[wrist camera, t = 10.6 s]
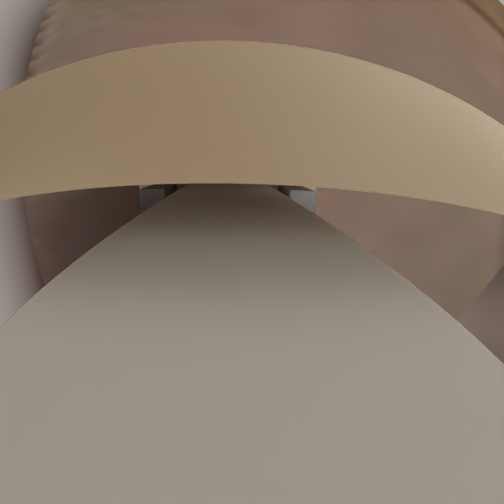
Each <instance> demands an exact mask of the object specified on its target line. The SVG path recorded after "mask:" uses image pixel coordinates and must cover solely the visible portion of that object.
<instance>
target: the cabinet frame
mask: <svg viewBox="0 0 504 504" xmlns="http://www.w3.org/2000/svg"><path fill="white" fill-rule="evenodd" d="M189 183H232V184H268V185H270V186H271V187H273V188H274V189H276V190H278V191H279V192H281V193H283V194H284V195H286V196H287V197H289V198H291V199H292V200H294V201H295V202H297V203H298V204H300V205H302V206H303V207H305V208H306V209H308V210H309V211H311V212H312V213H314V212H315V200H316V187H321V188H333V189H344V190H355V191H364V192H373V193H382V194H390V195H398V196H405V197H412V198H419V199H425V200H431V201H437V202H443V203H449V204H454V205H460V206H465V207H470V208H475V209H480V210H484V211H489V212H493V213H498V214H502V215H504V126H503V125H502V124H500V123H499V122H497V121H496V120H494V119H493V118H491V117H489V116H488V115H486V114H485V113H483V112H481V111H480V110H478V109H476V108H475V107H473V106H471V105H469V104H468V103H466V102H464V101H462V100H460V99H459V98H457V97H455V96H453V95H451V94H449V93H447V92H445V91H443V90H441V89H439V88H436V87H434V86H432V85H430V84H428V83H425V82H423V81H421V80H418V79H416V78H413V77H411V76H408V75H406V74H403V73H400V72H398V71H395V70H392V69H389V68H386V67H383V66H380V65H377V64H374V63H370V62H367V61H364V60H360V59H356V58H353V57H349V56H345V55H341V54H336V53H332V52H327V51H322V50H317V49H311V48H305V47H299V46H292V45H284V44H276V43H265V42H251V41H190V42H176V43H166V44H157V45H150V46H143V47H137V48H131V49H126V50H121V51H116V52H111V53H107V54H103V55H98V56H95V57H91V58H87V59H84V60H80V61H77V62H74V63H70V64H67V65H64V66H61V67H59V68H56V69H53V70H50V71H48V72H45V73H42V74H40V75H38V76H35V77H33V78H30V79H28V80H26V81H24V82H21V83H19V84H17V85H15V86H13V87H11V88H9V89H7V90H5V91H3V92H1V93H0V200H5V199H10V198H16V197H24V196H30V195H37V194H45V193H53V192H61V191H70V190H80V189H90V188H102V187H116V186H132V185H139V200H140V214H141V213H143V212H144V211H146V210H147V209H149V208H150V207H152V206H153V205H155V204H156V203H158V202H160V201H161V200H163V199H164V198H166V197H168V196H169V195H171V194H172V193H174V192H176V191H177V190H179V189H181V188H182V187H184V186H186V185H187V184H189Z"/></svg>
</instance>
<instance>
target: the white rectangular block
mask: <svg viewBox="0 0 504 504" xmlns="http://www.w3.org/2000/svg"><path fill="white" fill-rule="evenodd" d="M0 504H504V364H503V363H502V362H501V361H500V360H499V359H498V358H497V357H496V356H495V355H494V354H492V352H491V351H489V350H488V349H487V348H486V347H485V346H484V345H483V344H482V343H481V342H480V341H479V340H478V339H477V338H476V337H474V336H473V335H472V334H471V333H470V332H469V331H468V330H467V329H466V328H464V327H463V326H462V325H461V324H460V323H459V322H458V321H456V320H455V319H454V318H453V317H452V316H451V315H450V314H448V313H447V312H446V311H445V310H444V309H442V308H441V307H440V306H439V305H438V304H436V303H435V302H434V301H433V300H432V299H430V298H429V297H428V296H427V295H425V294H424V293H423V292H422V291H420V290H419V289H418V288H417V287H415V286H414V285H413V284H412V283H410V282H409V281H408V280H406V279H405V278H404V277H403V276H401V275H400V274H399V273H397V272H396V271H395V270H393V269H392V268H391V267H389V266H388V265H387V264H385V263H384V262H383V261H381V260H380V259H379V258H377V257H376V256H375V255H373V254H372V253H370V252H369V251H368V250H366V249H365V248H364V247H362V246H361V245H359V244H358V243H357V242H355V241H354V240H352V239H351V238H349V237H348V236H347V235H345V234H344V233H342V232H341V231H339V230H338V229H336V228H335V227H333V226H332V225H330V224H329V223H327V222H326V221H324V220H323V219H321V218H320V217H318V216H317V215H315V214H314V213H312V212H311V211H309V210H308V209H306V208H305V207H303V206H302V205H300V204H298V203H297V202H295V201H294V200H292V199H291V198H289V197H287V196H286V195H284V194H283V193H281V192H279V191H278V190H276V189H274V188H273V187H271V186H270V185H268V184H232V183H189V184H187V185H186V186H184V187H182V188H181V189H179V190H177V191H176V192H174V193H172V194H171V195H169V196H168V197H166V198H164V199H163V200H161V201H160V202H158V203H156V204H155V205H153V206H152V207H150V208H149V209H147V210H146V211H144V212H143V213H141V214H140V215H138V216H137V217H135V218H134V219H132V220H131V221H129V222H128V223H126V224H125V225H123V226H122V227H120V228H119V229H118V230H116V231H115V232H113V233H112V234H111V235H109V236H108V237H106V238H105V239H104V240H102V241H101V242H100V243H98V244H97V245H95V246H94V247H93V248H91V249H90V250H89V251H88V252H86V253H85V254H84V255H82V256H81V257H80V258H78V259H77V260H76V261H75V262H73V263H72V264H71V265H70V266H68V267H67V268H66V269H65V270H63V271H62V272H61V273H60V274H58V275H57V276H56V277H55V278H54V279H52V280H51V281H50V282H49V283H48V284H47V285H45V286H44V287H43V288H42V289H41V290H40V291H39V292H37V293H36V294H35V295H34V296H33V297H32V298H31V299H30V300H29V301H27V302H26V303H25V304H24V305H23V306H22V307H21V308H20V309H19V310H18V311H17V312H16V313H15V314H14V315H13V316H12V317H10V319H9V320H7V321H6V322H5V323H4V324H3V325H2V326H1V327H0Z"/></svg>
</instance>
